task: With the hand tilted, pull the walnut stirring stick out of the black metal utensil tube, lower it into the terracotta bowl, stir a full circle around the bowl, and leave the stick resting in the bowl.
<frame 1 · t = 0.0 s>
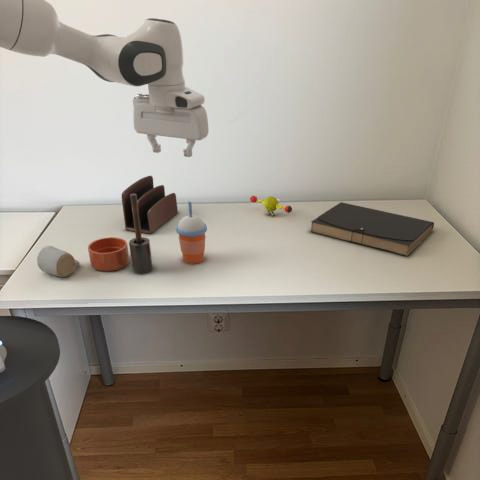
hand: (172, 154, 131), 33 cm above the table, tool pointing down, fingers open, 8 cm apart
bowl: (110, 263, 153), on the table
black book: (371, 232, 170), on the table
ceramic mug: (62, 272, 149), on the table
cup with straw: (193, 260, 155), on the table
utensil tube: (142, 269, 150), on the table
letter holder: (152, 222, 180), on the table
toy figure: (270, 215, 183), on the table
stick: (142, 267, 149), point 1 cm above the table, touching utensil tube
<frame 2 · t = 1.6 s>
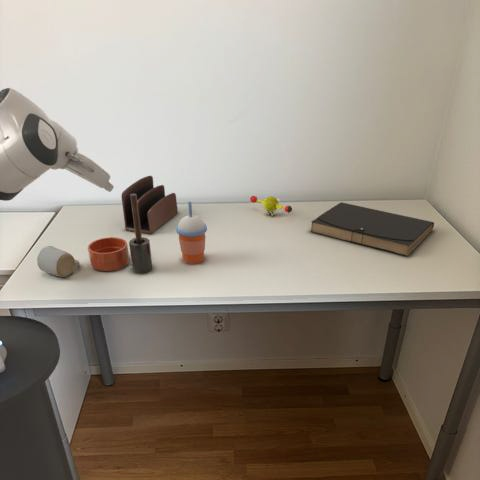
hand: (100, 183, 125), 29 cm above the table, tool tilted 40°, fingers open, 8 cm apart
nothing on the table moved.
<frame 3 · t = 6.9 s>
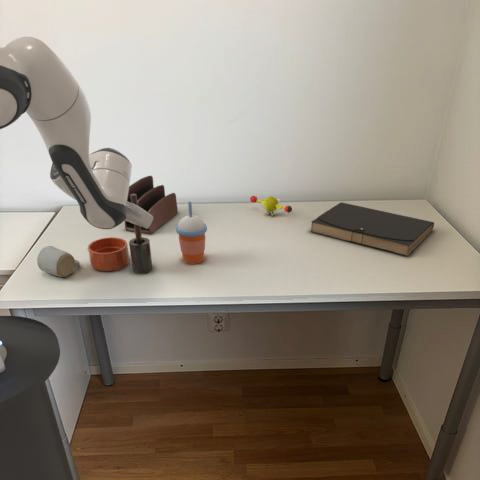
hand: (138, 222, 142), 14 cm above the table, tool tilted 45°, fingers closed on stick, 2 cm apart
stick: (142, 267, 149), point 1 cm above the table, touching gripper, utensil tube
everything else where it was.
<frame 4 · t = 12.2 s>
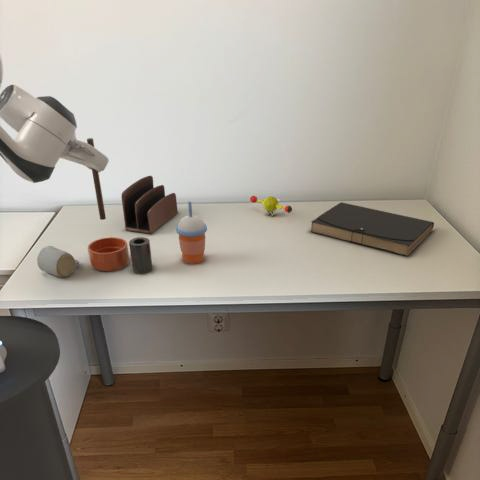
hand: (96, 168, 138), 28 cm above the table, tool tilted 45°, fingers closed on stick
stick: (102, 218, 145), point 14 cm above the table, touching gripper
everything else where it was.
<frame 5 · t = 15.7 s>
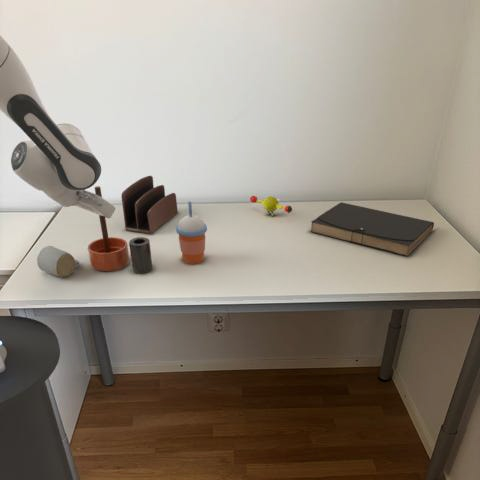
hand: (103, 213, 146), 15 cm above the table, tool tilted 45°, fingers closed on stick, 2 cm apart
stick: (109, 259, 153), point 1 cm above the table, touching gripper
everything else where it was.
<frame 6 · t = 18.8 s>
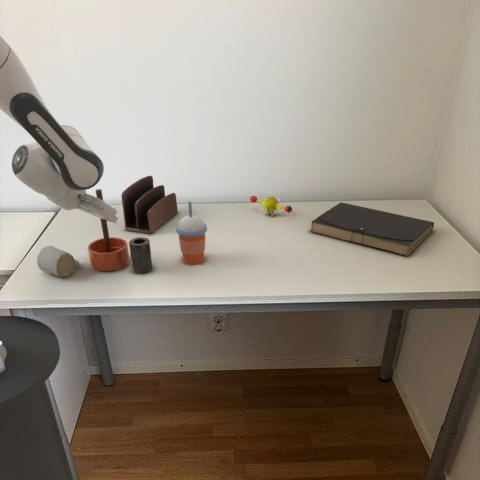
hand: (104, 216, 145), 15 cm above the table, tool tilted 45°, fingers open, 8 cm apart
stick: (110, 262, 153), point 1 cm above the table, touching bowl
everything else where it was.
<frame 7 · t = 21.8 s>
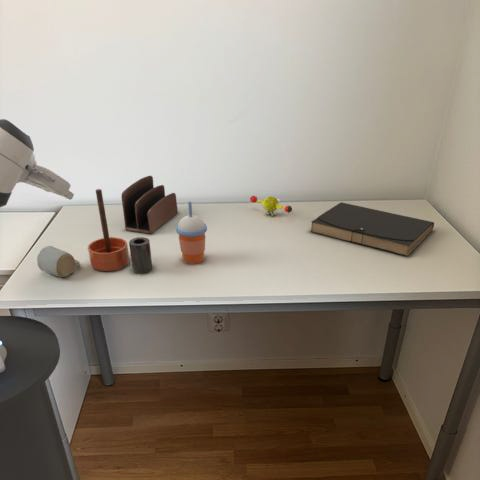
hand: (60, 193, 132), 25 cm above the table, tool tilted 45°, fingers open, 8 cm apart
nothing on the table moved.
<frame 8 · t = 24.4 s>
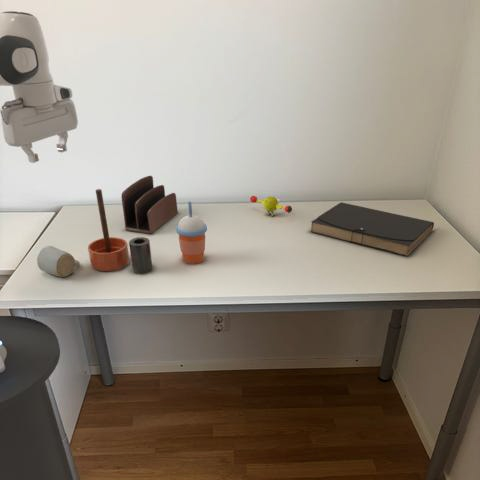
hand: (48, 156, 124), 35 cm above the table, tool pointing down, fingers open, 8 cm apart
nothing on the table moved.
at the end: stick 0.2 cm from the bowl (horizontally); stick point 0.6 cm above the table; the gripper is holding nothing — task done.
